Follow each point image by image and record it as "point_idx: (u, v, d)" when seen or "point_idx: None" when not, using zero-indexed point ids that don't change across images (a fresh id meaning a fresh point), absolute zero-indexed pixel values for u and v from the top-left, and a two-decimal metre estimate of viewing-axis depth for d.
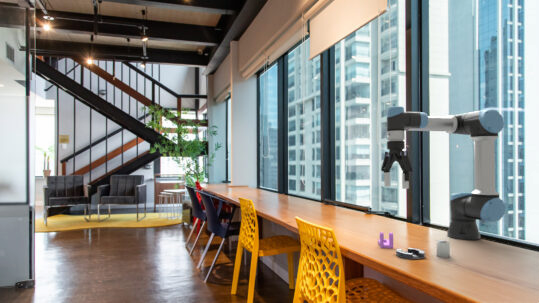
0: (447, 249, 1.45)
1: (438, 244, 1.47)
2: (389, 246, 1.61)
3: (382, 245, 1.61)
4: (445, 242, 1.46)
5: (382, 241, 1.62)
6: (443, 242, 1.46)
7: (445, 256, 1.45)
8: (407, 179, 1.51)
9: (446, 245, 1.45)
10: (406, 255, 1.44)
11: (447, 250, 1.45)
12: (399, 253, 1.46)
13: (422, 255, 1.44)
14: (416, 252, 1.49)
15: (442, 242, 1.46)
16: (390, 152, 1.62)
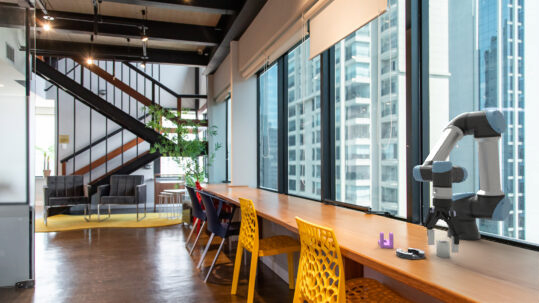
0: (447, 249, 1.45)
1: (438, 244, 1.47)
2: (389, 246, 1.61)
3: (382, 245, 1.61)
4: (445, 242, 1.46)
5: (382, 241, 1.62)
6: (443, 242, 1.46)
7: (445, 256, 1.45)
8: (457, 243, 1.39)
9: (446, 245, 1.45)
10: (406, 255, 1.44)
11: (447, 250, 1.45)
12: (399, 253, 1.46)
13: (422, 255, 1.44)
14: (416, 252, 1.49)
15: (442, 242, 1.46)
16: (436, 209, 1.50)
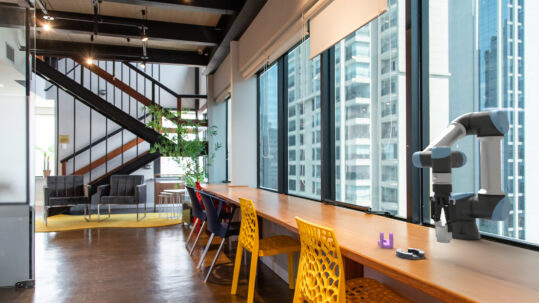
0: None
1: (438, 229, 1.47)
2: (389, 246, 1.61)
3: (382, 245, 1.61)
4: None
5: (382, 241, 1.62)
6: (443, 227, 1.46)
7: (445, 241, 1.45)
8: (450, 230, 1.44)
9: None
10: (406, 255, 1.44)
11: None
12: (399, 253, 1.46)
13: (422, 255, 1.44)
14: (416, 252, 1.49)
15: (442, 227, 1.46)
16: (435, 194, 1.50)
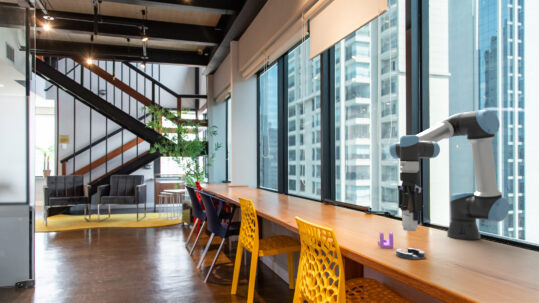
0: None
1: (404, 218, 1.47)
2: (389, 246, 1.61)
3: (382, 245, 1.61)
4: None
5: (382, 241, 1.62)
6: (409, 216, 1.47)
7: (411, 229, 1.46)
8: (416, 219, 1.44)
9: None
10: (406, 255, 1.44)
11: None
12: (399, 253, 1.46)
13: (422, 255, 1.44)
14: (416, 252, 1.49)
15: (408, 216, 1.47)
16: (403, 183, 1.51)
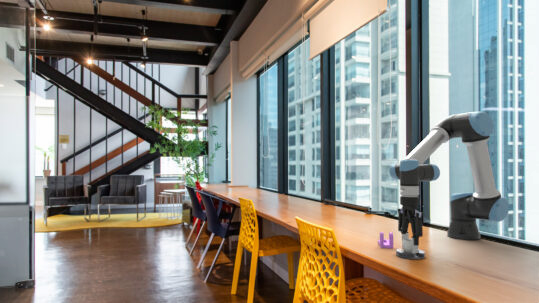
0: None
1: (405, 242, 1.47)
2: (389, 246, 1.61)
3: (382, 245, 1.61)
4: None
5: (382, 241, 1.62)
6: (409, 240, 1.47)
7: None
8: (417, 243, 1.44)
9: None
10: (406, 255, 1.44)
11: None
12: (399, 253, 1.46)
13: (422, 255, 1.44)
14: None
15: (408, 240, 1.47)
16: (403, 207, 1.51)
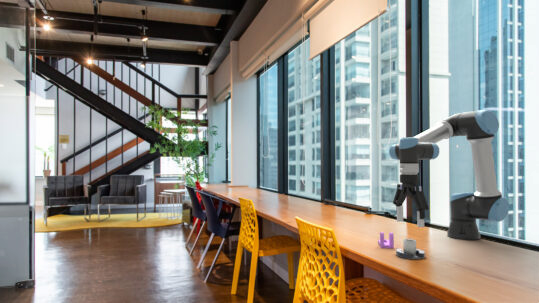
0: (413, 247, 1.46)
1: (405, 242, 1.47)
2: (389, 246, 1.61)
3: (382, 245, 1.61)
4: (411, 240, 1.47)
5: (382, 241, 1.62)
6: (409, 240, 1.47)
7: None
8: (423, 217, 1.40)
9: (413, 243, 1.46)
10: (406, 255, 1.44)
11: (413, 248, 1.46)
12: (399, 253, 1.46)
13: (422, 255, 1.44)
14: (416, 252, 1.49)
15: (408, 240, 1.47)
16: (403, 185, 1.51)
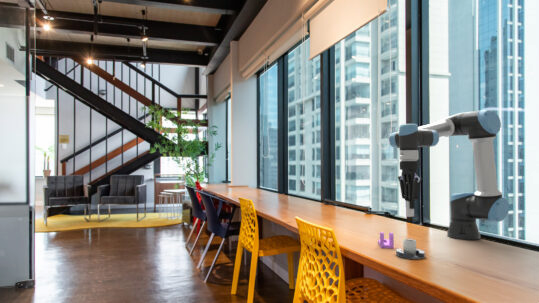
0: (413, 247, 1.46)
1: (404, 242, 1.47)
2: (389, 246, 1.61)
3: (382, 245, 1.61)
4: (411, 240, 1.47)
5: (382, 241, 1.61)
6: (409, 240, 1.47)
7: None
8: (412, 207, 1.47)
9: (413, 243, 1.46)
10: (406, 255, 1.44)
11: (413, 248, 1.46)
12: (399, 253, 1.46)
13: (422, 255, 1.44)
14: (416, 252, 1.49)
15: (408, 240, 1.47)
16: (402, 172, 1.51)
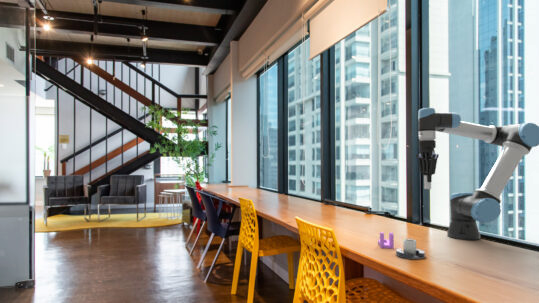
0: (413, 247, 1.46)
1: (405, 242, 1.47)
2: (389, 246, 1.61)
3: (382, 245, 1.61)
4: (411, 240, 1.46)
5: (382, 241, 1.61)
6: (409, 240, 1.47)
7: None
8: (430, 180, 1.68)
9: (413, 243, 1.46)
10: (406, 255, 1.44)
11: (413, 248, 1.46)
12: (399, 253, 1.46)
13: (422, 255, 1.44)
14: (416, 252, 1.49)
15: (408, 240, 1.47)
16: (421, 150, 1.73)
